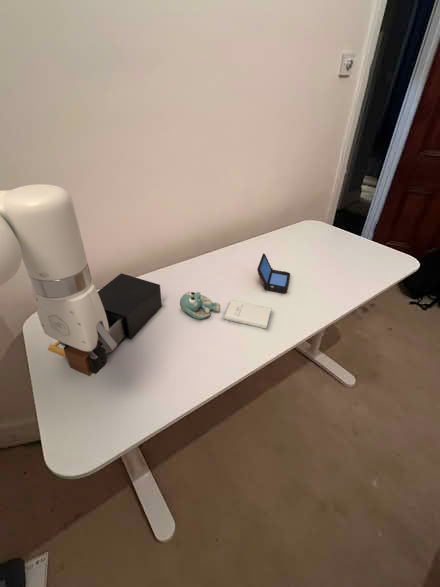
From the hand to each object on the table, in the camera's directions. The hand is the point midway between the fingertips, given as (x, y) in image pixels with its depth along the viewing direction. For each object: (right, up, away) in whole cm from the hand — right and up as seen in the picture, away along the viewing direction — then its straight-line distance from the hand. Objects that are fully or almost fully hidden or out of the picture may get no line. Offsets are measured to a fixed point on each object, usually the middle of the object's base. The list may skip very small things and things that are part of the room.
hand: (88, 362), depth 54 cm
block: (0, 0, 0) cm, 0 cm away
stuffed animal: (+17, +7, +38) cm, 42 cm away
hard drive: (+32, +5, +37) cm, 49 cm away
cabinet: (-4, +6, +35) cm, 35 cm away
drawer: (-9, 0, +24) cm, 26 cm away
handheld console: (+42, +16, +52) cm, 68 cm away
